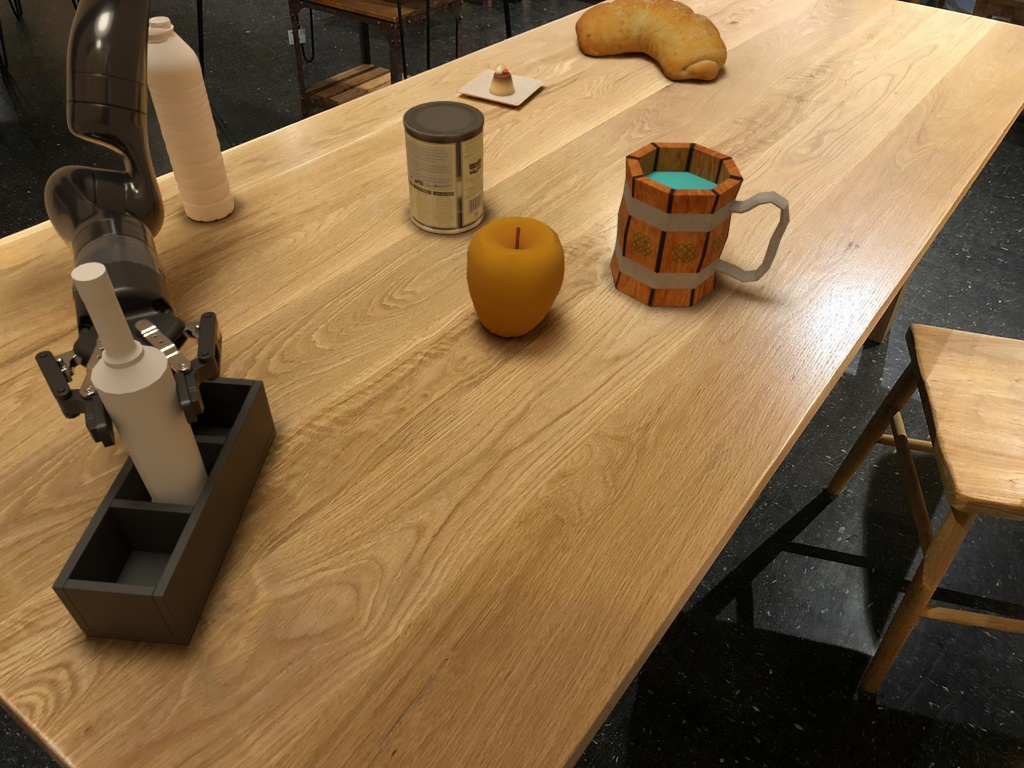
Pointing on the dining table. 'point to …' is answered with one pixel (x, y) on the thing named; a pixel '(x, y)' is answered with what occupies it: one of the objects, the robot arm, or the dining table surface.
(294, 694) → the dining table surface
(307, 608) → the dining table surface
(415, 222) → the coffee can
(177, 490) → the bottle
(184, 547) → the rack
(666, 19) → the bread
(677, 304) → the mug
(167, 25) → the water bottle
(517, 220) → the apple
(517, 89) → the dessert
